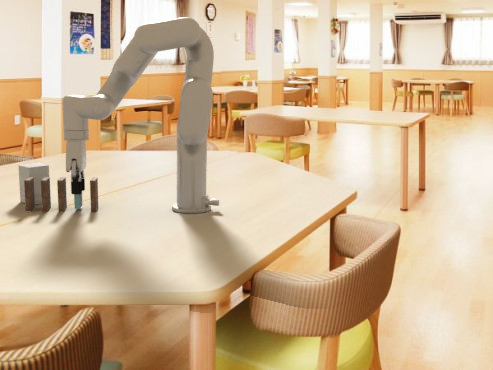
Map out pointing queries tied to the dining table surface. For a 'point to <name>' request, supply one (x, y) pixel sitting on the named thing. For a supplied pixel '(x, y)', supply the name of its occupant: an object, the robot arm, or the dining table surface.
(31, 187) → the domino
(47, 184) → the domino
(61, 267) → the dining table surface
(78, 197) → the domino
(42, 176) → the supplement box
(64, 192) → the domino
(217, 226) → the dining table surface
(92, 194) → the domino
